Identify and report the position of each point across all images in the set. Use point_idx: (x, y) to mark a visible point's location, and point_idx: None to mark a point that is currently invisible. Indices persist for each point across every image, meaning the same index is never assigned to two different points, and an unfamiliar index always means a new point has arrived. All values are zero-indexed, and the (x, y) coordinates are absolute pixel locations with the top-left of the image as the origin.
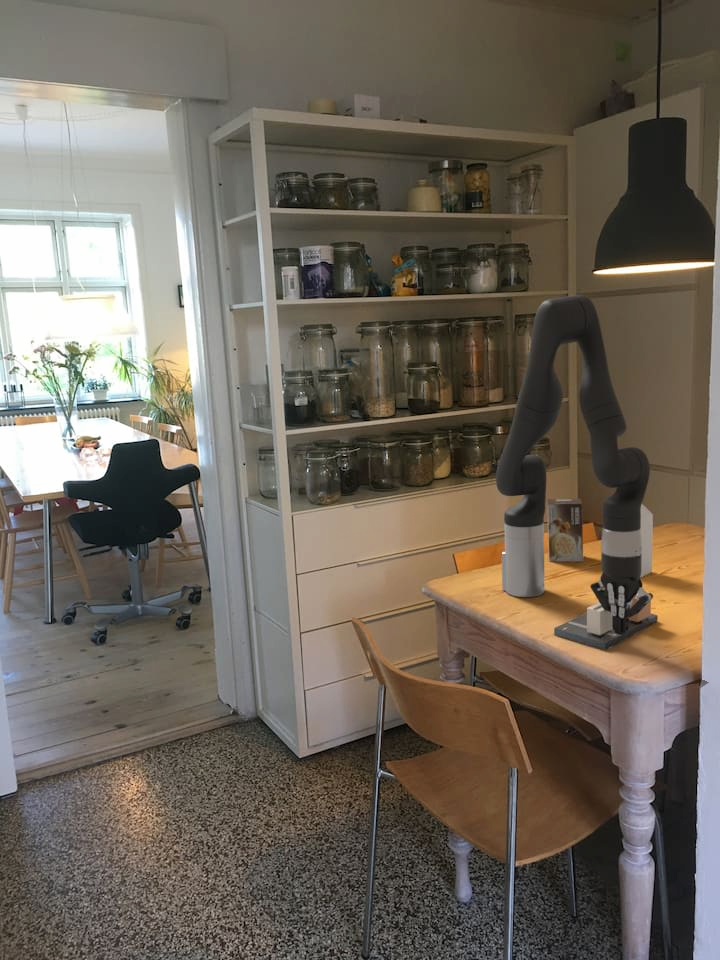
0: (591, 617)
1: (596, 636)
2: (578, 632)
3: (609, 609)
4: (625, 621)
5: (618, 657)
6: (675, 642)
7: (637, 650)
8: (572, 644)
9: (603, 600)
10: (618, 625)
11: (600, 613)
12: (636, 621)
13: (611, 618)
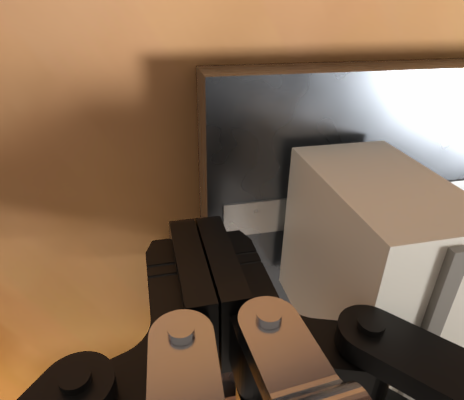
0: (422, 194)
1: (308, 135)
2: (424, 109)
3: (332, 336)
4: (151, 308)
5: (59, 27)
6: (10, 390)
7: (60, 205)
8: (400, 6)
9: (447, 388)
10: (196, 253)
11: (376, 242)
12: (232, 397)
13: (307, 310)
